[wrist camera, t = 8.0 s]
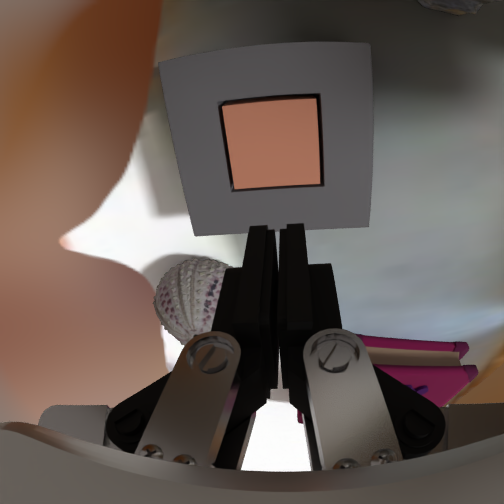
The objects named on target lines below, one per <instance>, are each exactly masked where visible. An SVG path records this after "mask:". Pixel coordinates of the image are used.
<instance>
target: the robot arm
mask: <svg viewBox="0 0 504 504" xmlns="http://www.w3.org/2000/svg"><path fill="white" fill-rule="evenodd" d="M279 349H280V360H281V372H282V383H283V389H288V388H289V399H290V404H292V405H293V406H294V407H295V408H296V409H298V410H299V411H300V412H301V413H302V418H303V424H304V430H305V436H306V442H307V448H308V454H309V460H310V466H311V471H301V472H267V471H244V470H241V467H242V464H243V460H244V457H245V453H246V450H247V446H248V443H249V439H250V436H251V432H252V428H253V425H254V421H255V417H256V411H257V410H258V409H259V408H261V407H262V406H263V405H264V404H266V400H267V399H270V390H271V389H277V386H278V365H279ZM0 504H504V403H485V404H448V405H447V406H446V407H438V406H437V405H435V404H434V403H433V402H432V401H430V400H428V399H427V398H425V397H424V396H422V395H420V394H419V393H417V392H416V391H414V390H412V389H411V388H409V387H408V386H406V385H404V384H403V383H401V382H400V381H398V380H397V379H395V378H393V377H392V376H390V375H389V374H387V373H386V372H384V371H383V370H381V369H379V368H378V367H376V366H375V365H373V364H372V363H371V360H370V358H369V355H368V352H367V350H366V347H365V345H364V343H363V342H362V340H361V339H360V338H359V337H358V336H357V335H355V334H354V333H352V332H350V331H347V330H344V329H342V323H341V317H340V310H339V304H338V298H337V292H336V287H335V281H334V275H333V270H332V265H331V263H328V264H308V258H307V248H306V238H305V228H304V223H295V224H287V229H280V243H279V271H278V260H277V249H276V238H275V230H274V229H268V225H258V226H250V227H249V232H248V238H247V243H246V249H245V254H244V260H243V266H242V267H238V268H227V269H226V270H225V273H224V277H223V282H222V286H221V290H220V294H219V298H218V302H217V306H216V311H215V315H214V319H213V323H212V328H211V331H210V332H206V333H201V334H199V335H197V336H195V337H193V338H192V339H191V340H190V341H189V342H187V344H186V345H185V346H184V348H183V349H182V351H181V354H180V356H179V358H178V360H177V362H176V364H175V366H174V368H173V371H171V372H170V373H168V374H167V375H165V376H163V377H162V378H160V379H159V380H157V381H156V382H154V383H152V384H151V385H149V386H147V387H146V388H144V389H142V390H141V391H139V392H137V393H136V394H134V395H133V396H131V397H129V398H127V399H126V400H124V401H122V402H121V403H119V404H118V405H117V406H115V407H114V408H109V407H108V406H107V405H55V406H51V407H49V408H47V409H46V410H45V411H44V412H43V414H42V415H41V417H40V420H39V423H38V425H34V424H29V423H23V422H4V423H0Z"/></svg>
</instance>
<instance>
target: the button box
mask: <svg viewBox="0 0 504 504" xmlns="http://www.w3.org/2000/svg"><path fill="white" fill-rule="evenodd" d="M158 65H159V71H160V77H161V82H162V88H163V93H164V99H165V104H166V109H167V115H168V120H169V125H170V130H171V135H172V139H173V144H174V149H175V154H176V158H177V163H178V168H179V172H180V177H181V181H182V185H183V190H184V194H185V198H186V203H187V207H188V211H189V215H190V219H191V224H192V228H193V232H194V236H209V235H225V234H241V233H248V232H249V227H250V226H258V225H268V229H274V230H275V232H276V231H280V229H287V224H295V223H304V228H305V230H315V229H337V228H360V227H369V219H370V207H371V192H372V173H373V136H374V115H373V79H372V61H371V47H370V43H358V42H291V43H275V44H263V45H253V46H244V47H236V48H229V49H222V50H216V51H210V52H204V53H199V54H194V55H189V56H184V57H179V58H175V59H171V60H166V61H162V62H158ZM291 95H313V96H314V97H315V98H316V104H317V119H318V138H319V161H320V184H306V185H287V186H271V187H256V188H243V189H235V188H234V181H233V175H232V168H231V162H230V155H229V149H228V142H227V136H226V129H225V123H224V116H223V109H222V106H223V105H224V104H225V103H227V102H228V101H235V100H243V99H253V98H263V97H276V96H291Z"/></svg>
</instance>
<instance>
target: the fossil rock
mask: <svg viewBox="0 0 504 504" xmlns="http://www.w3.org/2000/svg"><path fill="white" fill-rule="evenodd" d="M417 1H418V2H419V3H420V4H422V5H423V6H424V7H425V8H429V9H434V10H439V11H442V12H448V13H452V14H454V15H457V16H458V15H462V14H467V13H472V14H476V13H477V11H478V10H479V9H480V8H481V6H482V4H486V3H489V2H491V1H502V0H417Z"/></svg>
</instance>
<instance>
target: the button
mask: <svg viewBox="0 0 504 504" xmlns="http://www.w3.org/2000/svg"><path fill="white" fill-rule="evenodd" d="M222 109H223V116H224V123H225V129H226V136H227V142H228V149H229V155H230V162H231V168H232V175H233V181H234V188H235V189H243V188H256V187H271V186H287V185H306V184H320V161H319V138H318V119H317V104H316V98H315V97H314V96H313V95H291V96H276V97H263V98H253V99H243V100H235V101H228V102H227V103H225V104H224V105H223V106H222Z"/></svg>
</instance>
